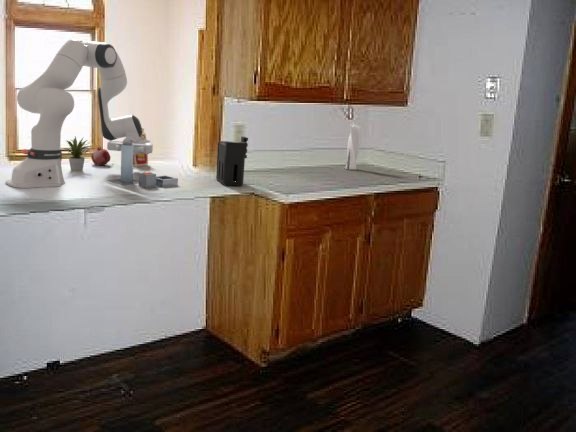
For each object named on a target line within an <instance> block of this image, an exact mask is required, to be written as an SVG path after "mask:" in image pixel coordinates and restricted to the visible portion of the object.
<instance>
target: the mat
mask: <svg viewBox="0 0 576 432" xmlns="http://www.w3.org/2000/svg"><path fill="white" fill-rule="evenodd" d="M106 181H108V182H110V183H113V184H116V185H120V186H129V185H130V186H131V185H136V184H139V179H138V180H137V179H134V178H133V182H131V183H124V182H121V178H118V179H117V178H115V179H107V180H106Z"/></svg>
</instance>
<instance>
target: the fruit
mask: <svg viewBox="0 0 576 432" xmlns="http://www.w3.org/2000/svg"><path fill="white" fill-rule="evenodd" d="M90 159H91V161H92V162H93V164H94V165H95V166H105V165H107V164H108V163H109V162H110V161H111V155H110V152H109V150H108V149H106V148H102V147H101V145H98V146H97V148H96V149H95V150H94V151H93V152H92V153H91V157H90Z"/></svg>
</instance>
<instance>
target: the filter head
mask: <svg viewBox="0 0 576 432" xmlns="http://www.w3.org/2000/svg"><path fill="white" fill-rule="evenodd" d="M151 173H152V174H144V172H138V181H139V184H135V186H136V187H141V188H145V189H147V190H153V189H162V188H171V187H172V188H173V187H179V178H177V177H173V176H170V175H166V174H165V175H157V174H156V173H154V172H151Z"/></svg>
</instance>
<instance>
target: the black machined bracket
mask: <svg viewBox="0 0 576 432" xmlns="http://www.w3.org/2000/svg"><path fill="white" fill-rule="evenodd" d="M240 138H241V139H240V140H241V141H239V142H235V141H226V140H220V141H218V142H217V158H216V175H215V176H216V180H217V182H219V183H220V184H222V185H223V186H225V185H226V186H225V187H243V186H244V177H245V162H246V159H248V155H247V153H248V145H249V144H248V141H249V137H246V136H240ZM234 181H236V182H234Z"/></svg>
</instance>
